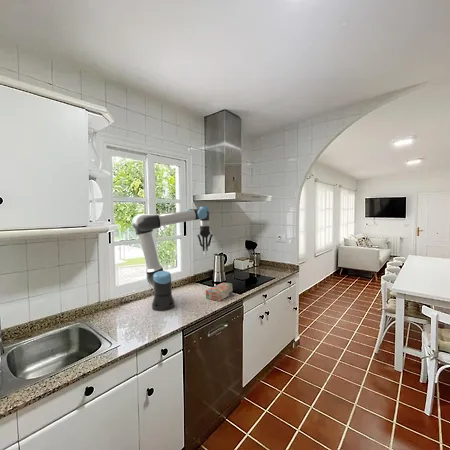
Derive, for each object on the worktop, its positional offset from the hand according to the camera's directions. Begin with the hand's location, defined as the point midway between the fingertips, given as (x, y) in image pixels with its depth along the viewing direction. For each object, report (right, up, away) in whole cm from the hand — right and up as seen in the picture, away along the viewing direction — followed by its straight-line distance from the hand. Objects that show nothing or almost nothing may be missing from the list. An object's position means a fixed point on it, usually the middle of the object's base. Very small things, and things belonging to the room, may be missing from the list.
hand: (205, 254), depth 201 cm
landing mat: (+15, -29, -3) cm, 33 cm away
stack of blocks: (+8, -26, -8) cm, 29 cm away
